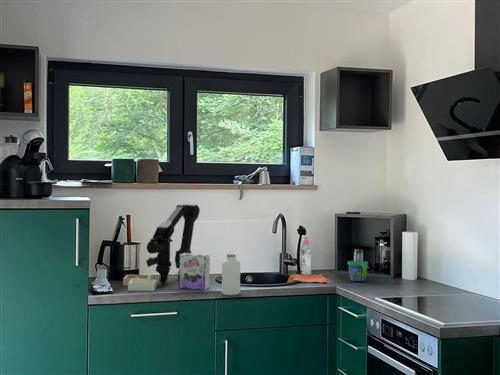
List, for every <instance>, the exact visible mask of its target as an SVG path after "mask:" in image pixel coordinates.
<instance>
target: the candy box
mask: <svg viewBox="0 0 500 375" xmlns="http://www.w3.org/2000/svg"><path fill="white" fill-rule="evenodd" d="M210 261H211V254H205V253H204V254H202V253H192V254H190V253H182V254H180V257H179V268H178V271H179V280H178V288H179V289H185V290H186V289H188V290H196V291H197V290H199V291H207V290H209V289H210V269H211V268H210V264H211V263H210Z"/></svg>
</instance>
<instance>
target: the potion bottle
mask: <svg viewBox="0 0 500 375" xmlns="http://www.w3.org/2000/svg"><path fill="white" fill-rule="evenodd" d="M236 258H237V255H236V254H234V253H229V254H226V258H225V259H224V260H223V261H222V262H221V294H223V295H225V296H238V295H239V294H240V292H241V262H240V260H239V259H236Z"/></svg>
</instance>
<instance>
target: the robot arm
mask: <svg viewBox="0 0 500 375" xmlns="http://www.w3.org/2000/svg"><path fill="white" fill-rule="evenodd" d="M200 210H201V209H200V207H199V205H197V204H184V203H183V204H182V203H181V204H177V205H176V207H175V209H174V210H173V211H172V212H171V214H170V216H168V219H166V221H164V222H162V223H160V224H158V226H157V227H156V230H155V232H154V234H153V236H152V238H151V239H150V240H149V242H148V243H147V244H146V251H147V252H148V253H149V254H157V256H153V257H149V258H147V259H146V260H145V262H146V266H147V267H148V268H149V267H152V266H154V265H156V266H155V272H157V273H158V274H159V277H161V281H162V284H165V281H166V279H167V277H168V275H169V273H170V271H171V267H172V261H171V243H172V242H173V239H172V238H171V237H172V236H173V234H174V232H175V227H176V225H177V224H178V223H179V221H180V220H181V218H183V220H184V223H183V229H182V237H181V244H180V248H179V249H178V250H176V251H175V256H174V262H175V268H176V269H179V257H180V254H182V253H190V254H193V253H192V250H191V246H192V239H193V233H194V226H195V225H194V224H195V222H196V220H198V218H199V214H200ZM177 280H178V281H179V270H178V272H177Z"/></svg>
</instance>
